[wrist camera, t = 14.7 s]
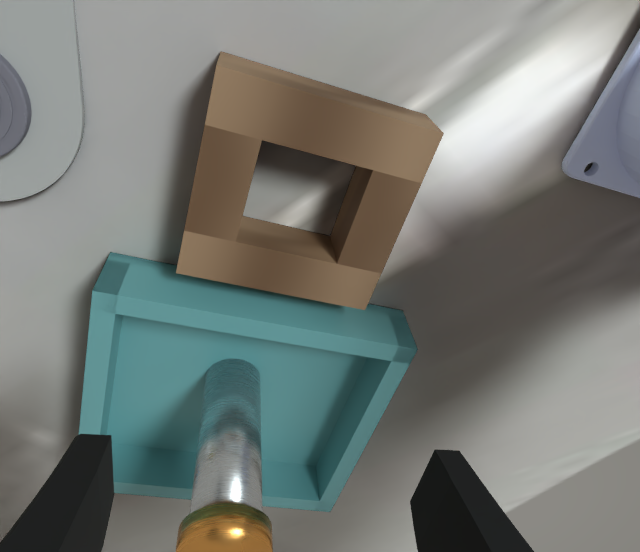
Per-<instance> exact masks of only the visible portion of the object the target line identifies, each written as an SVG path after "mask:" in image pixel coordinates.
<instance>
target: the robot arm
mask: <svg viewBox="0 0 640 552" xmlns="http://www.w3.org/2000/svg"><path fill="white" fill-rule="evenodd" d="M592 162H593V164H592V167H591V168H590V169H589V170H588V171H586V172H584V170H585V167H586V166H587V165H588V164H590V163H592ZM562 170H563V172H564V173H565V174H567V175H568V176H570V177H571V178H574V179H577V180H581V181H584V182H588V183H591V184H594V185H598V186H601V187H604V188H608V189H611V190H614V191H618V192H621V193H624V194H628V195H631V196H634V197H638V198H640V29H639V31H638V32H637V34H636V36H635V38H634V39H633V41H632V43H631V44H630V46H629V48H628V50H627V51H626V53H625V55H624V56H623V58H622V60H621V62H620V63H619V65H618V67H617V68H616V70H615V72H614V74H613V75H612V77H611V79H610V80H609V82H608V84H607V86H606V87H605V89H604V91H603V92H602V94H601V96H600V97H599V99H598V101H597V103H596V104H595V106H594V108H593V109H592V111H591V113H590V115H589V116H588V118H587V120H586V121H585V123H584V125H583V127H582V128H581V130H580V132H579V133H578V135H577V137H576V139H575V140H574V142H573V144H572V145H571V147H570V149H569V150H568V152H567V154H566V156H565V157H564V159H563V162H562ZM113 498H114V479H113V458H112V437H111V435H98V434H79V435H78V436H76V437H75V438H74V440H73V441H72V443H71V445H70V446H69V448H68V450H67V451H66V453H65V454H64V456H63V457H62V459H61V460H60V462H59V463H58V465H57V466H56V468H55V469H54V471H53V472H52V474H51V475H50V477H49V478H48V480H47V481H46V482H45V484H44V485H43V487H42V488H41V489H40V491H39V492H38V494H37V495H36V496H35V498H34V499H33V501H32V502H31V503H30V505H29V506H28V507H27V508H26V510H25V511H24V512H23V514H22V515H21V516H20V518H19V519H18V520H17V522H16V523H15V524H14V526H13V527H12V528H11V530H10V531H9V532H8V533H7V535H6V536H5V537H4V539H3V540H2V541H1V542H0V552H101V550H102V547H103V544H104V539H105V535H106V530H107V526H108V521H109V516H110V512H111V507H112V502H113ZM410 504H411V511H412V518H413V525H414V531H415V537H416V543H417V549H418V552H534V551H533V550H532V548H531V547H530V546H529V544H528V543H527V542H526V541H525V539H524V538H523V537H522V535H521V534H520V533H519V531H518V530H517V529H516V528H515V526H514V525H513V524H512V522H511V521H510V520H509V518H508V517H507V516H506V514H505V513H504V512H503V510H502V509H501V508H500V506H499V505H498V504H497V502H496V501H495V499H494V498H493V497H492V495H491V494H490V493H489V491H488V490H487V488H486V487H485V486H484V484H483V483H482V482H481V480H480V479H479V477H478V476H477V475H476V473H475V472H474V470H473V469H472V468H471V466H470V465H469V464H468V462H467V461H466V459H465V458H464V457H463V455H462V454H461V453H460V451H453V450H434V453H433V455H432V457H431V459H430V461H429V463H428V465H427V467H426V469H425V471H424V474H423V476H422V478H421V480H420V482H419V484H418V486H417V488H416V490H415V493H414V495H413V497H412V499H411V501H410Z"/></svg>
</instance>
